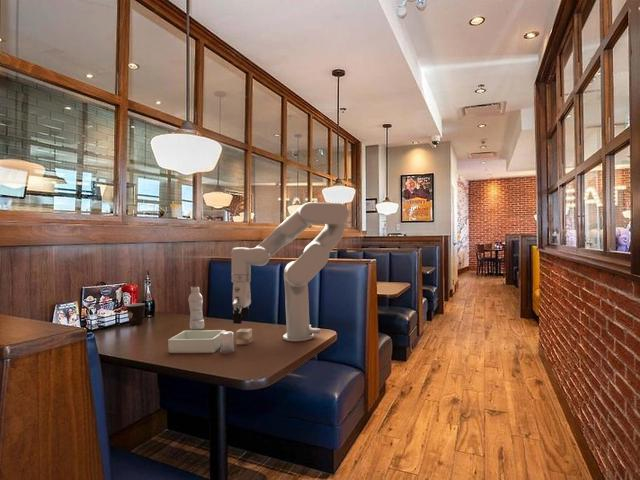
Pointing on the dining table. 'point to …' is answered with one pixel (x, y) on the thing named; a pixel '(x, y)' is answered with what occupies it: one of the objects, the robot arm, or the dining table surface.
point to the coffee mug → (136, 313)
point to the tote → (195, 341)
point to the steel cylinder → (226, 342)
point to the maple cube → (244, 336)
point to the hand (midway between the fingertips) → (241, 320)
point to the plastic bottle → (196, 309)
